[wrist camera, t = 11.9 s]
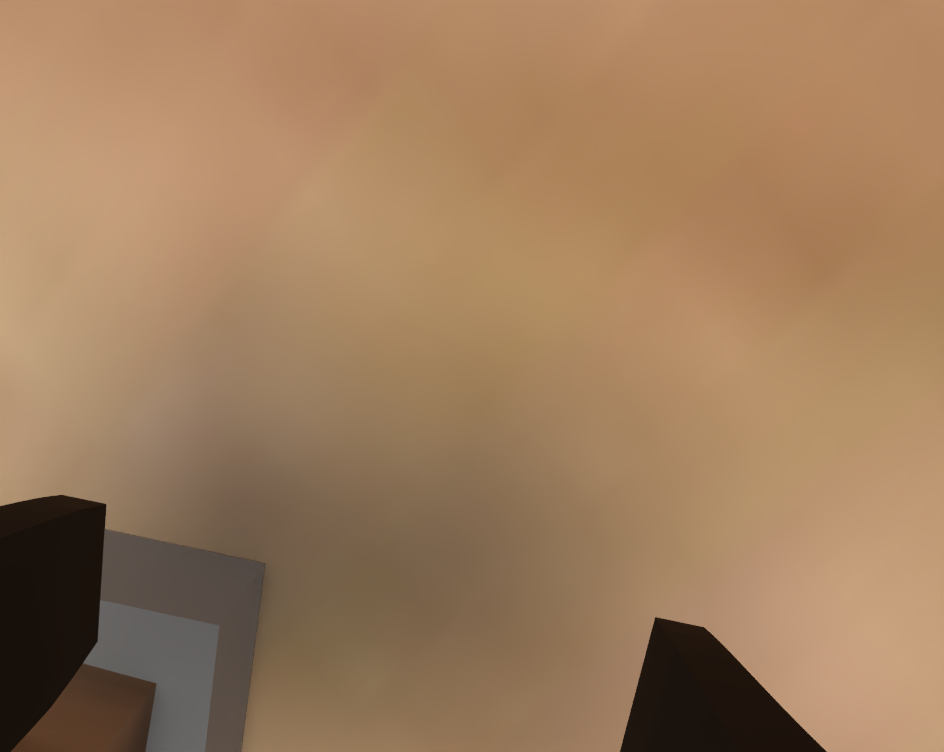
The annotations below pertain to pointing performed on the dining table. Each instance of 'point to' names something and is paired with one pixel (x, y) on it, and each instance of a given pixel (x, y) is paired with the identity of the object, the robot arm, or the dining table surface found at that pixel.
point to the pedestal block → (181, 637)
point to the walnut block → (95, 715)
